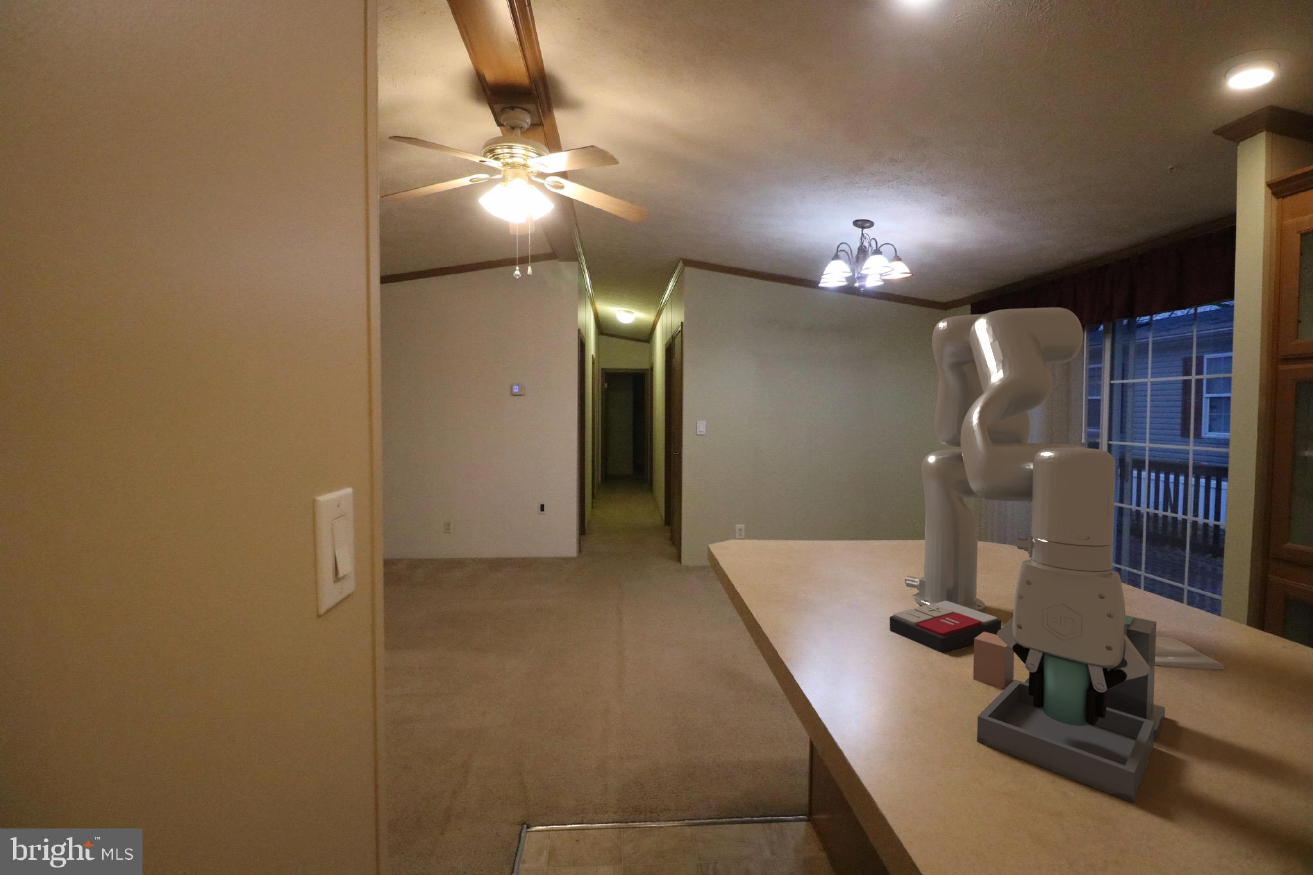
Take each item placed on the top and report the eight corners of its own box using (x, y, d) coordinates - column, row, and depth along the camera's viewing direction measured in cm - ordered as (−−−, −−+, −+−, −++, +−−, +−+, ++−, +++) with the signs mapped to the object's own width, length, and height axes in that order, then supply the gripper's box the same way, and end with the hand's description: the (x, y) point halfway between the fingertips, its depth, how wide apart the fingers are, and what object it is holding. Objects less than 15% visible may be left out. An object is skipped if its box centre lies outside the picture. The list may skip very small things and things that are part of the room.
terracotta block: (973, 679, 81) (974, 638, 81) (982, 671, 84) (984, 631, 83) (1004, 689, 78) (1005, 646, 78) (1013, 680, 81) (1014, 639, 80)
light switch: (1087, 621, 97) (1171, 621, 95) (1087, 644, 97) (1172, 645, 95) (1127, 645, 87) (1223, 647, 84) (1129, 672, 87) (1224, 674, 84)
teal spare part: (1037, 714, 65) (1039, 654, 64) (1048, 702, 68) (1049, 644, 67) (1085, 730, 61) (1086, 667, 61) (1093, 716, 64) (1095, 656, 64)
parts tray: (976, 741, 65) (977, 716, 65) (1014, 701, 75) (1014, 679, 74) (1133, 802, 55) (1134, 772, 55) (1153, 747, 64) (1154, 721, 64)
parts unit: (1018, 696, 76) (1020, 605, 75) (1035, 678, 81) (1037, 593, 81) (1155, 741, 65) (1159, 635, 65) (1164, 716, 71) (1168, 619, 70)
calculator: (888, 612, 100) (945, 597, 106) (888, 635, 100) (945, 619, 106) (943, 633, 90) (1002, 615, 96) (943, 659, 90) (1002, 639, 96)
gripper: (978, 547, 68) (974, 695, 68) (1164, 576, 55) (1159, 757, 56) (998, 539, 73) (995, 677, 73) (1173, 564, 60) (1168, 730, 61)
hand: (1065, 710), depth 64 cm, fingers closed on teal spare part, 4 cm apart
